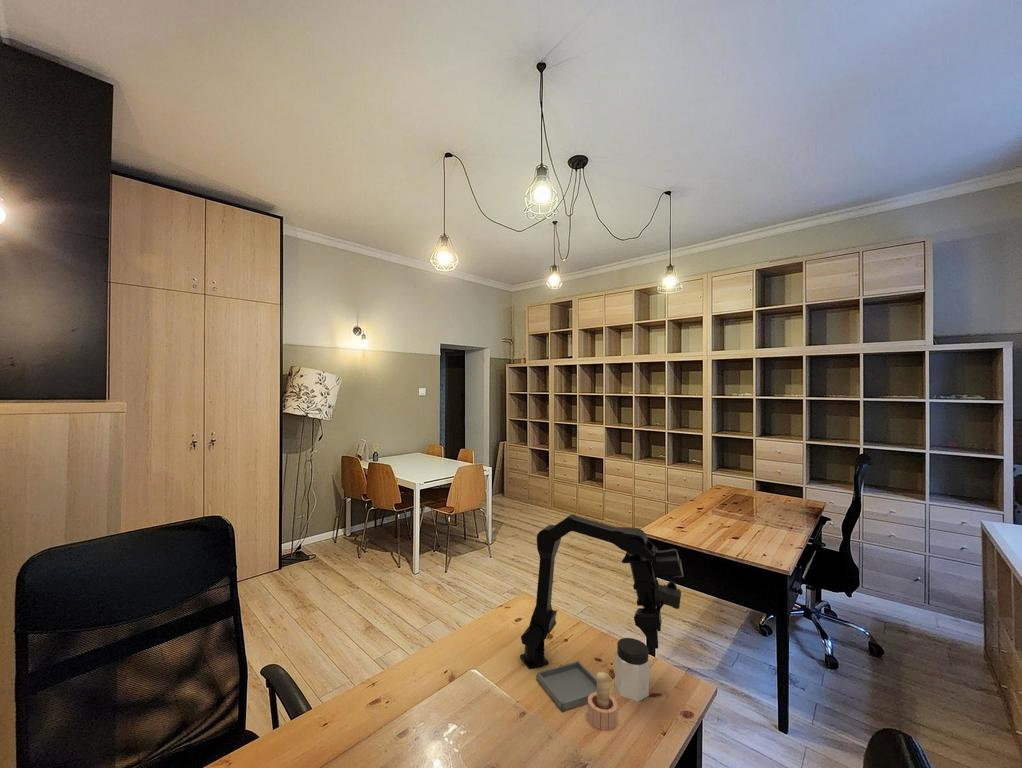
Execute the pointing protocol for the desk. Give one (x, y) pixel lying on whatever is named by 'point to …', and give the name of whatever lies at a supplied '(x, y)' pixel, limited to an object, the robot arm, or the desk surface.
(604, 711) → the cup
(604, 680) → the dowel
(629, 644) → the jar
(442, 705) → the desk surface
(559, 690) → the tray
